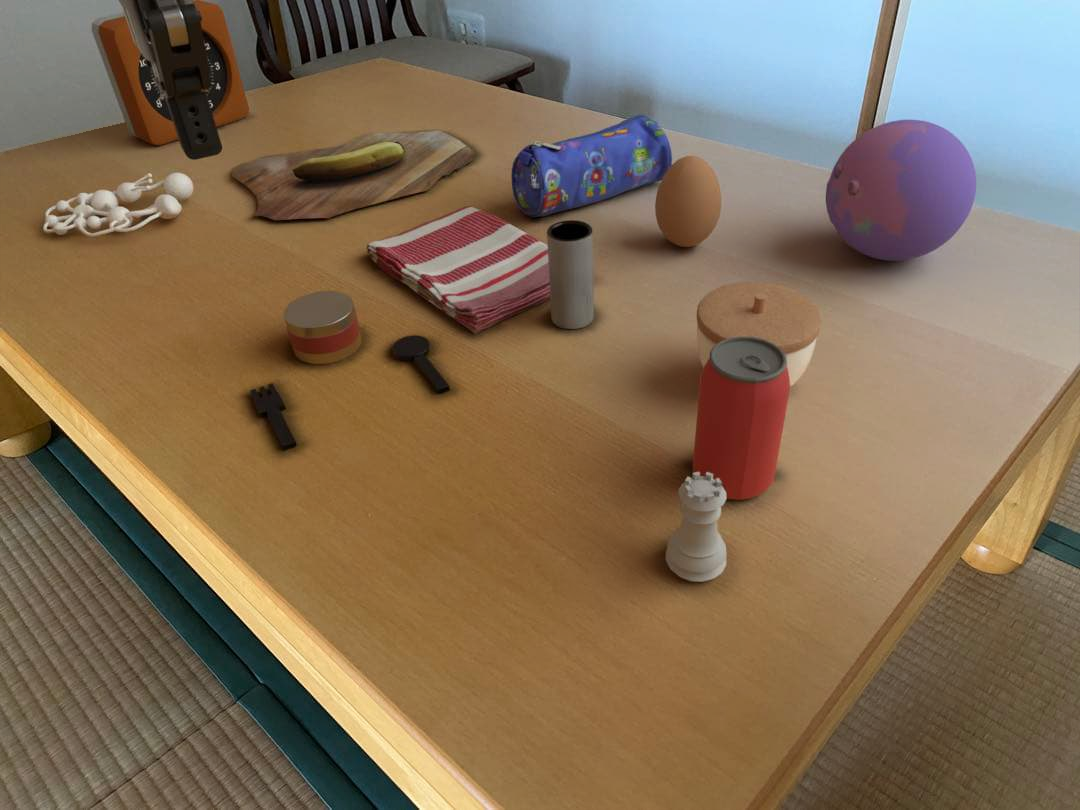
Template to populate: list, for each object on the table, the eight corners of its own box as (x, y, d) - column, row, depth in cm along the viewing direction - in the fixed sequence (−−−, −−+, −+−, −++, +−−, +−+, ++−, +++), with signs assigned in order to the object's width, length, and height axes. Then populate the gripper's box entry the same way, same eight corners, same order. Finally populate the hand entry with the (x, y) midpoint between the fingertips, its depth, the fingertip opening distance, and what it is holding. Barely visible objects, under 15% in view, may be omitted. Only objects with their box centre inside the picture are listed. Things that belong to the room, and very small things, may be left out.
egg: (730, 247, 98) (740, 159, 91) (680, 266, 95) (686, 176, 88) (689, 224, 103) (695, 139, 96) (640, 241, 100) (643, 155, 93)
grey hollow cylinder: (560, 304, 90) (556, 217, 83) (599, 310, 88) (599, 223, 82) (544, 325, 86) (539, 237, 80) (585, 333, 85) (583, 243, 78)
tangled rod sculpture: (29, 258, 107) (13, 231, 104) (67, 202, 118) (53, 176, 115) (177, 242, 107) (164, 214, 104) (201, 188, 118) (191, 161, 115)
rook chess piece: (653, 565, 60) (657, 488, 55) (686, 530, 63) (693, 453, 58) (705, 596, 58) (714, 517, 53) (737, 558, 61) (749, 479, 56)
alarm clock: (153, 149, 133) (104, 12, 120) (129, 137, 138) (80, 5, 125) (253, 116, 143) (218, -13, 130) (227, 106, 148) (191, -19, 135)
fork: (303, 443, 73) (302, 438, 73) (277, 453, 72) (275, 448, 72) (275, 387, 80) (273, 382, 80) (250, 395, 79) (248, 390, 79)
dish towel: (476, 337, 85) (473, 315, 84) (363, 259, 100) (359, 239, 98) (595, 279, 93) (595, 258, 92) (474, 214, 108) (472, 196, 106)
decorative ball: (793, 234, 99) (813, 110, 90) (904, 215, 102) (934, 92, 92) (861, 295, 88) (891, 160, 79) (984, 272, 90) (1028, 138, 81)
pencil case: (536, 231, 103) (531, 158, 97) (504, 207, 109) (498, 137, 103) (677, 188, 111) (681, 118, 105) (640, 168, 117) (642, 100, 111)
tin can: (336, 370, 82) (326, 333, 79) (279, 356, 84) (268, 319, 82) (375, 333, 87) (367, 297, 84) (320, 321, 89) (311, 285, 87)
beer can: (733, 516, 64) (751, 395, 56) (675, 471, 68) (683, 353, 61) (790, 479, 67) (814, 359, 59) (730, 438, 71) (745, 321, 64)
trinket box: (782, 343, 82) (796, 259, 76) (827, 409, 73) (846, 321, 68) (678, 356, 81) (683, 272, 75) (711, 425, 73) (720, 337, 67)
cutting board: (266, 238, 106) (258, 210, 103) (218, 170, 125) (210, 145, 122) (505, 172, 118) (502, 146, 116) (428, 119, 137) (425, 96, 135)
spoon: (462, 385, 79) (461, 379, 78) (426, 399, 78) (425, 393, 77) (421, 336, 86) (421, 331, 86) (388, 348, 85) (386, 342, 84)
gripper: (6, -187, 43) (126, 135, 54) (17, -180, 34) (158, 207, 45) (154, -198, 46) (239, 111, 57) (200, -194, 37) (292, 174, 48)
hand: (203, 153), depth 51 cm, fingers closed
